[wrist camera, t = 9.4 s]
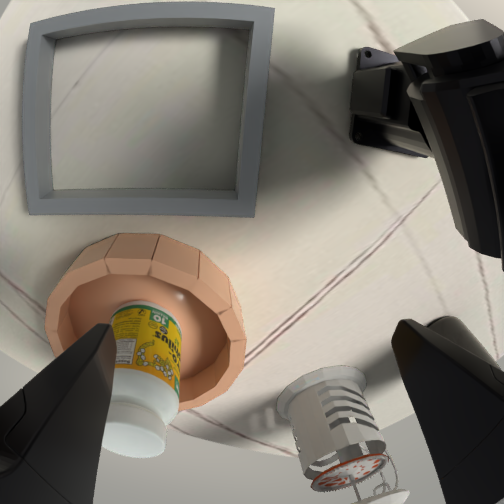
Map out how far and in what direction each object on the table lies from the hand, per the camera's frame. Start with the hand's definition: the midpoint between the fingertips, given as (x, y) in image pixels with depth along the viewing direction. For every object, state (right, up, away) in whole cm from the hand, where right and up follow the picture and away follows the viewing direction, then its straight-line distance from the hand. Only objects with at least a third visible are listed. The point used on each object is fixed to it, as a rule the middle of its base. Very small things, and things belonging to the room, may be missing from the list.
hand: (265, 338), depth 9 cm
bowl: (-8, -3, +14) cm, 16 cm away
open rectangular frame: (-7, +11, +7) cm, 15 cm away
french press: (+8, -13, +21) cm, 26 cm away
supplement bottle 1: (-8, -3, +13) cm, 15 cm away
